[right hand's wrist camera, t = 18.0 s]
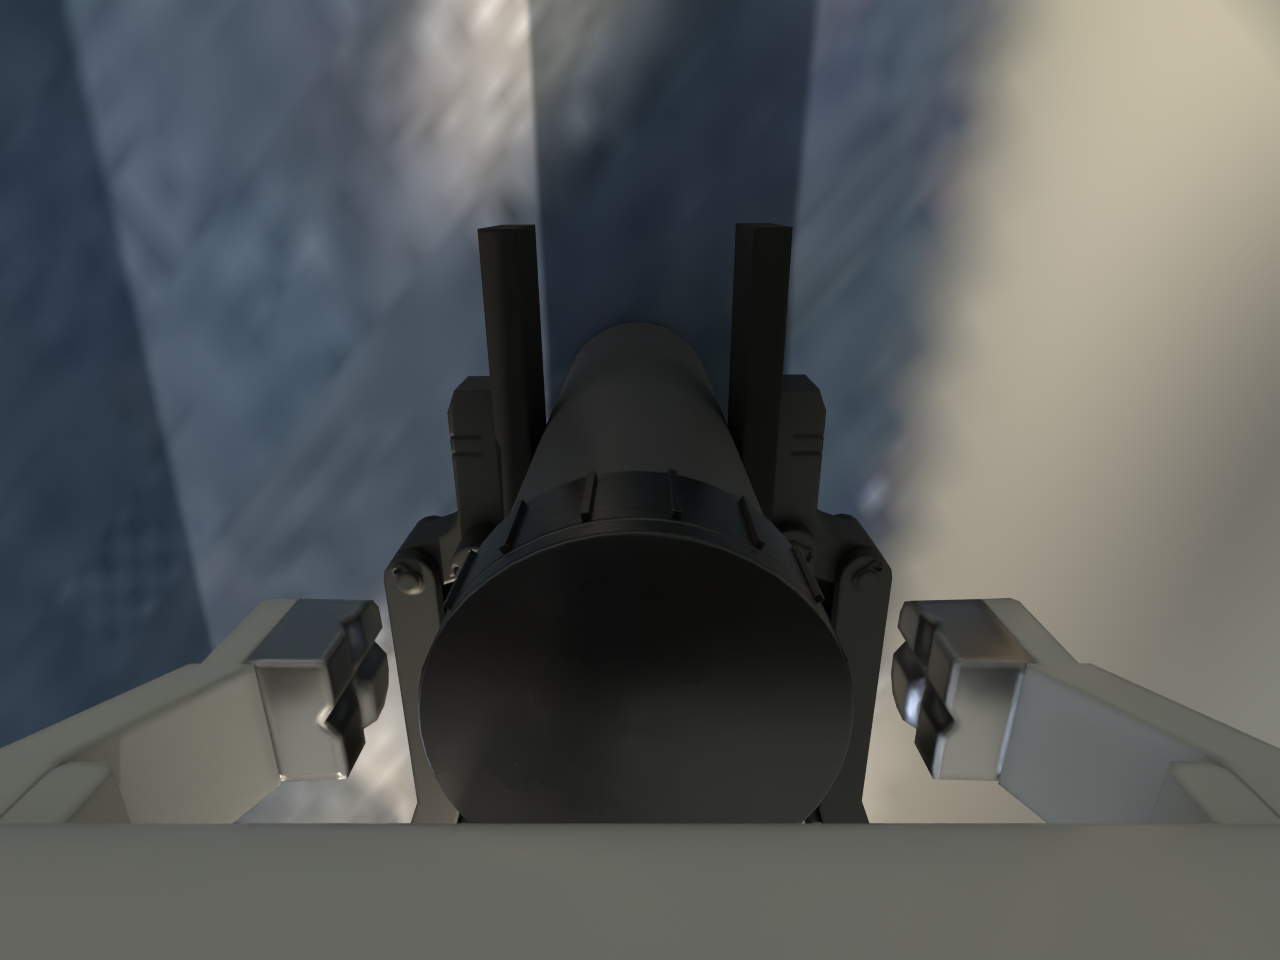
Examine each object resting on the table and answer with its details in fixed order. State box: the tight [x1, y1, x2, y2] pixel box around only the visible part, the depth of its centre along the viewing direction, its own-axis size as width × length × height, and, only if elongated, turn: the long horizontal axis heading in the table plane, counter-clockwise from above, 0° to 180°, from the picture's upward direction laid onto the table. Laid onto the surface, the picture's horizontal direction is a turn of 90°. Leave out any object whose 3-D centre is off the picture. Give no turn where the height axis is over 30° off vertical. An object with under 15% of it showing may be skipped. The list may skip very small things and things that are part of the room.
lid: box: [417, 469, 854, 823], centre depth 9 cm, size 5×5×2 cm
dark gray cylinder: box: [510, 322, 764, 516], centre depth 16 cm, size 5×5×15 cm
